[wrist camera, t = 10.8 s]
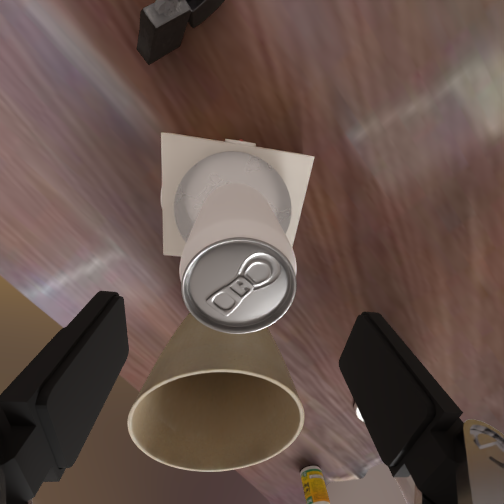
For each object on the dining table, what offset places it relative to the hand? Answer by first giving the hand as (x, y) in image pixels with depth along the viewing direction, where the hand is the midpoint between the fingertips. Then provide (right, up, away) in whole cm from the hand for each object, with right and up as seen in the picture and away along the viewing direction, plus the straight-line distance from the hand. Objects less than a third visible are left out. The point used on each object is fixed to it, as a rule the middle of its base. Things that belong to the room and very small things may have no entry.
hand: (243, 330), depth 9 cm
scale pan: (-2, +7, +14) cm, 16 cm away
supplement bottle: (+15, -52, +50) cm, 74 cm away
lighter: (-6, +23, +11) cm, 26 cm away
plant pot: (-4, -5, +25) cm, 26 cm away
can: (-1, +7, +13) cm, 15 cm away
